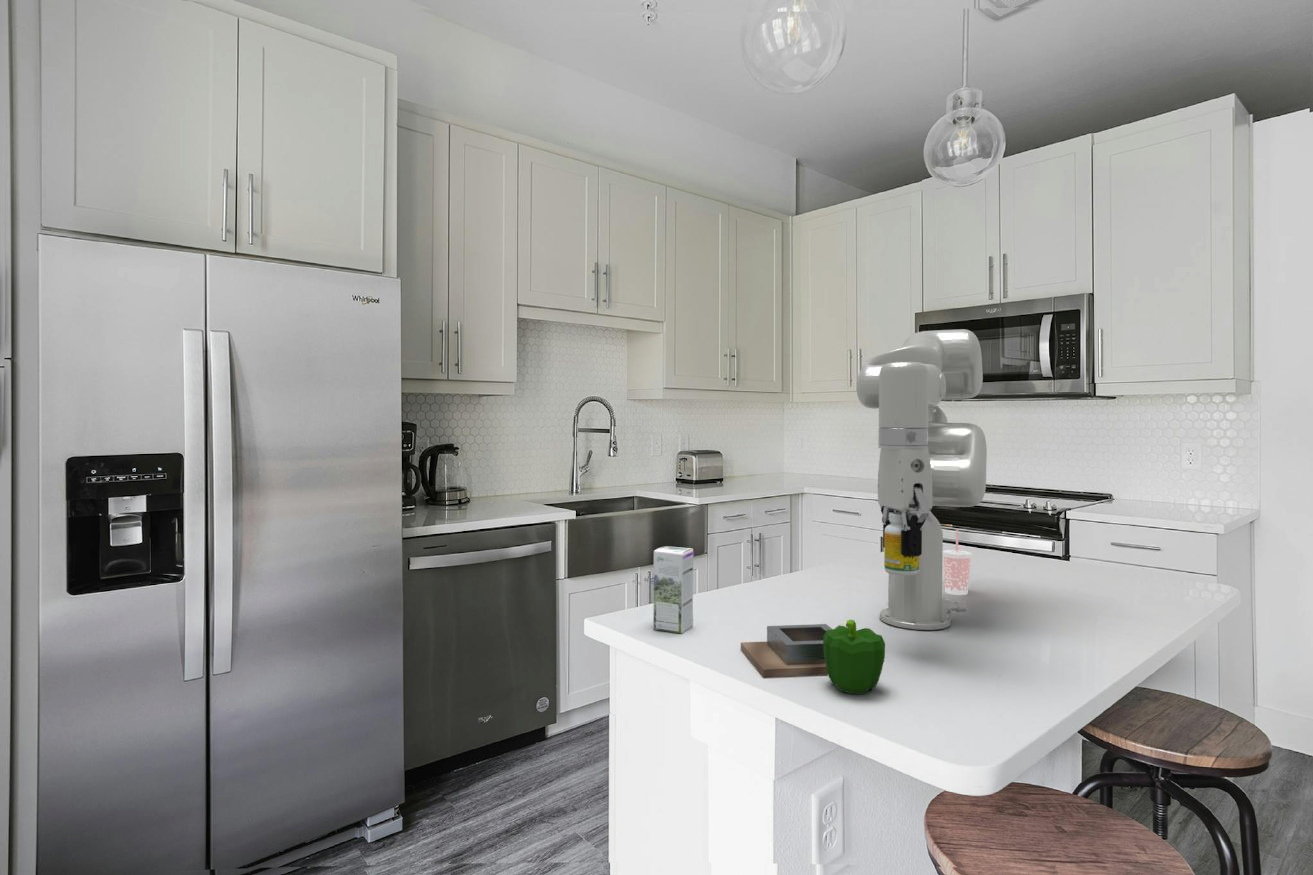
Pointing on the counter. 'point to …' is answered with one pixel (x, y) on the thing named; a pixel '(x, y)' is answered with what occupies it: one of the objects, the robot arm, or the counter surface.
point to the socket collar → (798, 643)
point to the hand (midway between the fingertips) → (901, 550)
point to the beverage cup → (956, 570)
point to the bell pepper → (853, 657)
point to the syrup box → (673, 589)
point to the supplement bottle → (897, 549)
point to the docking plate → (777, 662)
